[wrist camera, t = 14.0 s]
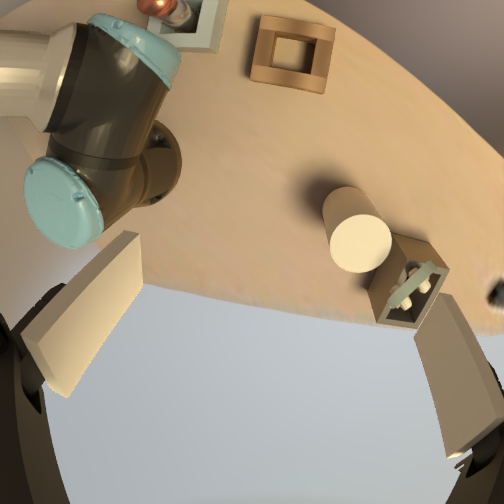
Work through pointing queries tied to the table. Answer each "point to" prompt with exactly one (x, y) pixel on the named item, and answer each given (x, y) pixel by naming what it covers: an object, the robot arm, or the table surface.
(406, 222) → the table surface
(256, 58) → the mount
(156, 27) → the frame
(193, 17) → the pin
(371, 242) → the cream cylinder
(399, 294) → the headphones
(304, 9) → the table surface
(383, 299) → the box
